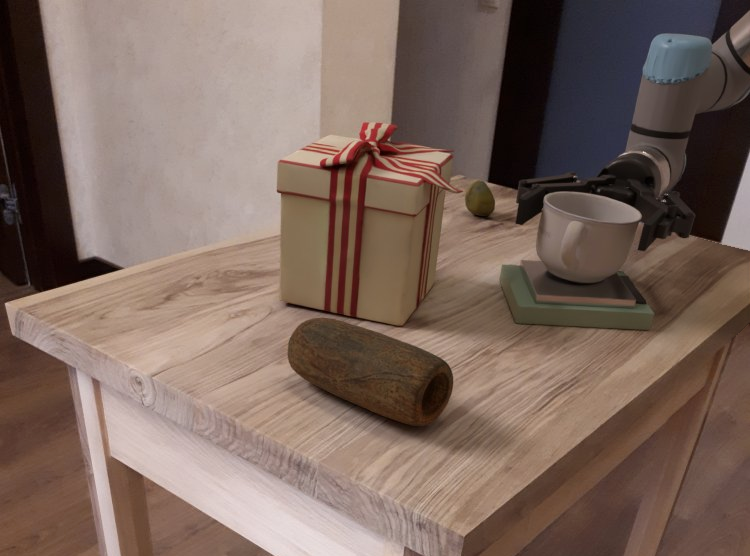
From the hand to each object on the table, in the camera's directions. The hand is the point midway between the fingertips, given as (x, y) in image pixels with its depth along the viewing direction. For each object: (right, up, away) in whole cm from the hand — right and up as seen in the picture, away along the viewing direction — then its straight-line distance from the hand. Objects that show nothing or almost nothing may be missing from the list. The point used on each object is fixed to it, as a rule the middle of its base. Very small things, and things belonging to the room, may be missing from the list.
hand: (580, 224), depth 84 cm
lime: (-6, +13, +35) cm, 38 cm away
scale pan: (+1, -5, +7) cm, 9 cm away
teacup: (+1, -4, +7) cm, 8 cm away
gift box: (-22, -6, +7) cm, 24 cm away
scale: (+1, -6, +8) cm, 10 cm away
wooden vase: (-23, -21, -13) cm, 33 cm away
